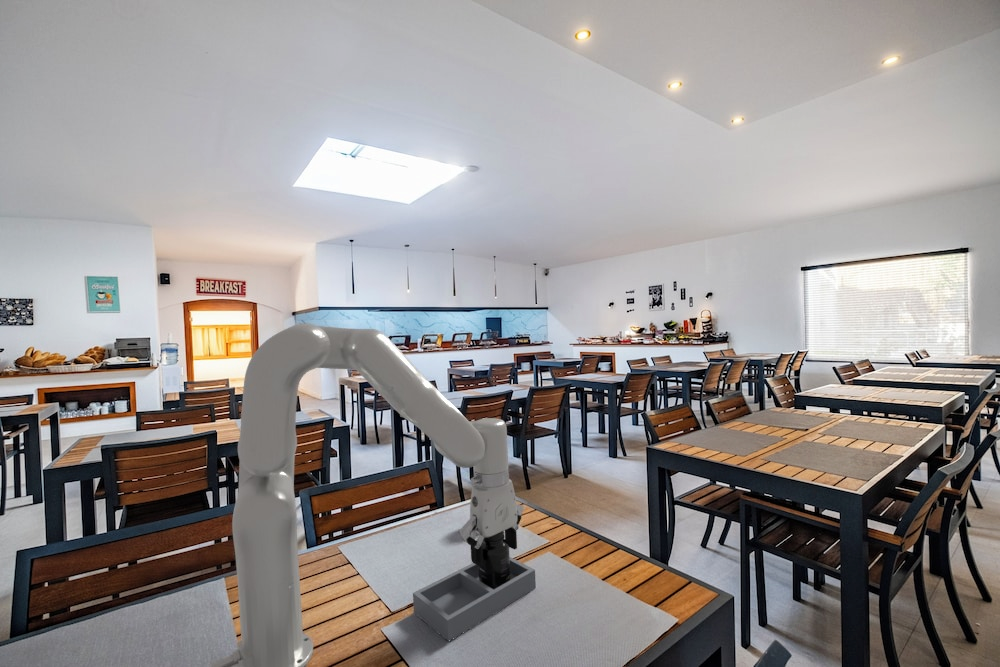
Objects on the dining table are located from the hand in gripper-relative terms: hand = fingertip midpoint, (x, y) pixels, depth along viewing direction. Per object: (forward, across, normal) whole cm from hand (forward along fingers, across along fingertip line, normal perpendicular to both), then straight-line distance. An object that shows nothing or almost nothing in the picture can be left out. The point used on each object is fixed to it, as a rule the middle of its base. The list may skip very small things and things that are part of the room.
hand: (494, 555), depth 99 cm
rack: (+7, -6, 0) cm, 9 cm away
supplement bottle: (+6, 0, 0) cm, 7 cm away
